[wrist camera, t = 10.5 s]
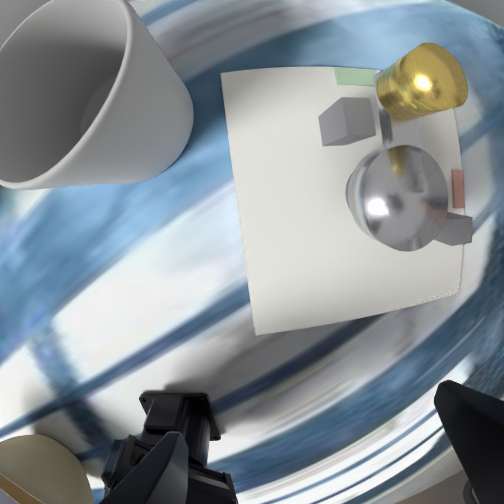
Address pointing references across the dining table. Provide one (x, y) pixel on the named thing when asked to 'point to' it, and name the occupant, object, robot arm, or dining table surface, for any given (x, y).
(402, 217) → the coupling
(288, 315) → the base plate
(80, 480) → the beige deep round bowl
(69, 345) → the dining table surface
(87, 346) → the dining table surface
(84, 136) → the mug
